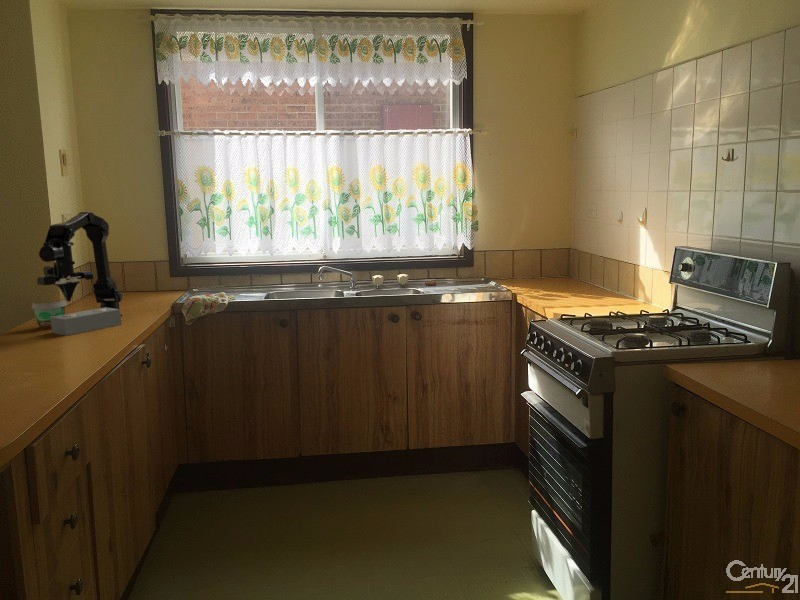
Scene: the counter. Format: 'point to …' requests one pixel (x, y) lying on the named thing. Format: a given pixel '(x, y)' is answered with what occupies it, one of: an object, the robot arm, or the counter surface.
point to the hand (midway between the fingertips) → (68, 301)
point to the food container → (48, 313)
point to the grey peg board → (85, 321)
